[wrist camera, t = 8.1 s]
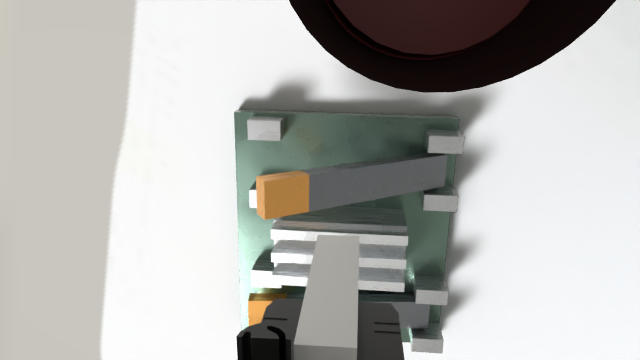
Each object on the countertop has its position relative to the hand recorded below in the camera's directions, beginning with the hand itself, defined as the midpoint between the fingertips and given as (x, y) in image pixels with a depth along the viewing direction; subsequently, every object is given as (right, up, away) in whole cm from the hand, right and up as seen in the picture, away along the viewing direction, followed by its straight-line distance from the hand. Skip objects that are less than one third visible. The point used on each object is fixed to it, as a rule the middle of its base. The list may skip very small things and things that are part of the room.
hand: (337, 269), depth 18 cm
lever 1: (+1, +3, +10) cm, 11 cm away
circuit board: (+1, 0, +16) cm, 16 cm away
